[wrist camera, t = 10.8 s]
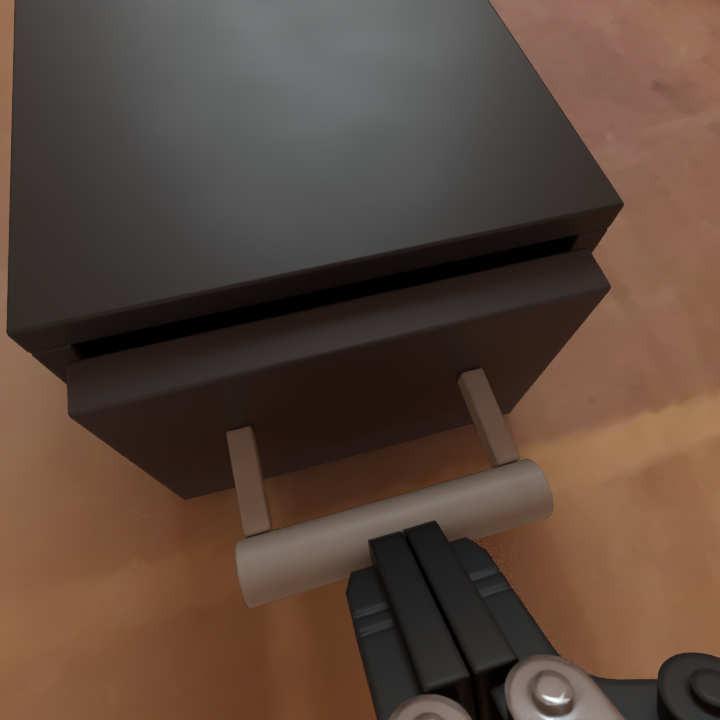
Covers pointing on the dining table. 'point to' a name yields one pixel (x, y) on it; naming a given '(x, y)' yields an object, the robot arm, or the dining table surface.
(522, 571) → the dining table surface
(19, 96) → the dark brown box
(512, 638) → the robot arm
